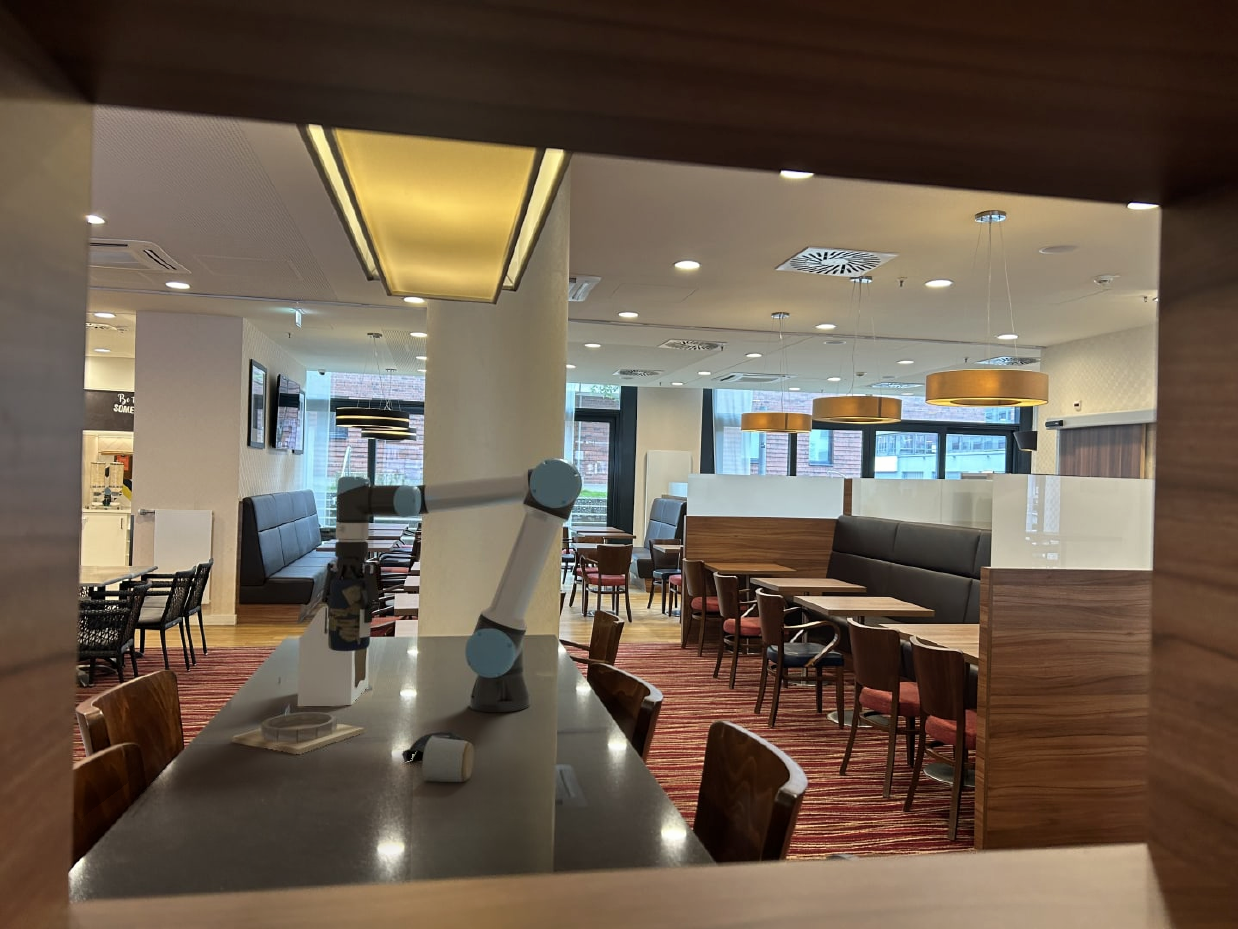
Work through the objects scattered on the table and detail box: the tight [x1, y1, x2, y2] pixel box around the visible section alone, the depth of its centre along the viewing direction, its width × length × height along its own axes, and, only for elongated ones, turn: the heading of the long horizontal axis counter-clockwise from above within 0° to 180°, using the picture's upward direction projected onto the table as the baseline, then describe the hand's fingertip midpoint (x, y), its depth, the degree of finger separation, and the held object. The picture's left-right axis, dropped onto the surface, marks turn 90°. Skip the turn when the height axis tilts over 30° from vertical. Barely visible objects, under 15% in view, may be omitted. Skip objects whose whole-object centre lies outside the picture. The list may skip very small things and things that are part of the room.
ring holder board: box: [232, 711, 365, 755], centre depth 180 cm, size 20×18×4 cm
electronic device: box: [401, 731, 463, 763], centre depth 169 cm, size 9×6×15 cm
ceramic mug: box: [421, 737, 475, 783], centre depth 153 cm, size 11×8×8 cm
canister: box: [328, 578, 371, 651], centre depth 196 cm, size 10×10×18 cm
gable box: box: [297, 605, 370, 707], centre depth 219 cm, size 22×13×28 cm, turn 6°
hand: (349, 634), depth 196 cm, fingers closed on canister, 9 cm apart
